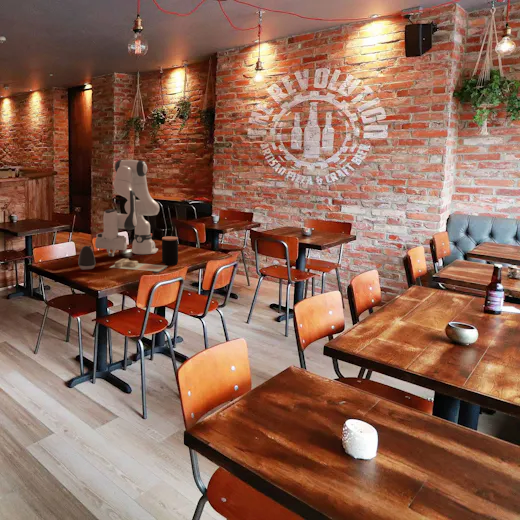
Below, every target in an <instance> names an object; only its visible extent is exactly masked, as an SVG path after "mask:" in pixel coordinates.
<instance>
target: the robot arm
mask: <svg viewBox="0 0 520 520" xmlns="http://www.w3.org/2000/svg"><path fill="white" fill-rule="evenodd" d="M114 170H115V172H116V173H115V176H114V183H113V188H114V191H115V193H116V194H117V195H119V196H121V197H123V198H125V199H126V200H127V201H126V202H125V203H124V210H125V212H126V213H119V212H118V211H117V209H114V208H108V209H105V210H104V212H103V218H102V222H103V231H102V232H99V233H96V235H95V237H96V238H95V243H94V245H95V246H94V247H95V248H96V249H101V250H102V249H104V250H106V252H107V253H108V257H114V256H115V252H116V251H125V250H127V248H128V245H127V237H126V236H124V235H119V229H120V230H121V229H123V230H129V231H132V230H134V234H133V238H134V239H133V240H132V247H131V248H132V249H131V250H133V252H132V254H135V255H152V254H153V255H154V254H156V253H157V252H158V251H159V248H157V247H156V243H155V241H154V240H153V239H152V237H153V233H151V224H150V221H148V220H146V219H145V217H144V216H147V217H149V216H150V217H151V216H157V215H158V214H159V212H160V208H161V207H160V204H159V203H158V201H156V200H154V198H153V197H152V196H151V194H150V192H149V188H148V181H147V173H148V165H147V163H146V161H143V160H137V159H119V160H117V161H116V163H115V166H114ZM136 197H137V198H138V199H136ZM111 251H112V252H111Z"/></svg>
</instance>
